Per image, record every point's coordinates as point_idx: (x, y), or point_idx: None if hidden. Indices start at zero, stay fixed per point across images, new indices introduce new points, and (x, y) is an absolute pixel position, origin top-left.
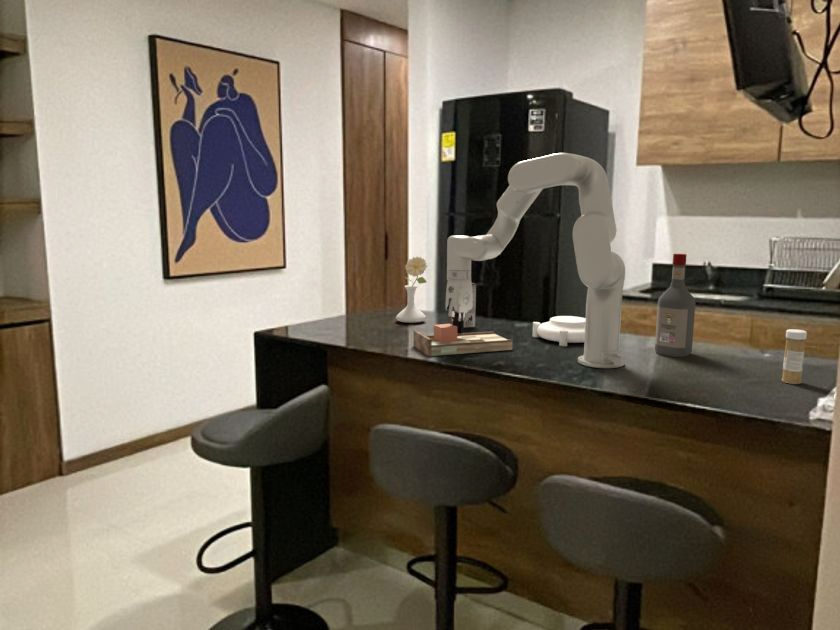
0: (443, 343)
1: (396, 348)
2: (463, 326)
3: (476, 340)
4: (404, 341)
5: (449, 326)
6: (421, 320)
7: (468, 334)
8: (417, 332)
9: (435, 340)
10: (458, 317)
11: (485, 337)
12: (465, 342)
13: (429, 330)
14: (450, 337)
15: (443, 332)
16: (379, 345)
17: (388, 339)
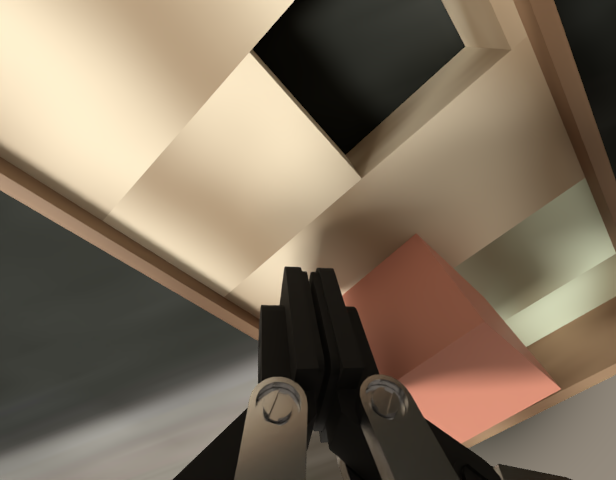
0: (520, 274)
1: None
2: (298, 310)
3: (293, 101)
4: (315, 438)
5: (485, 372)
6: None
7: (142, 251)
8: (475, 441)
9: None
10: (431, 441)
11: (125, 40)
12: (464, 151)
13: (22, 476)
14: (465, 283)
15: (522, 345)
16: None
17: (307, 476)
